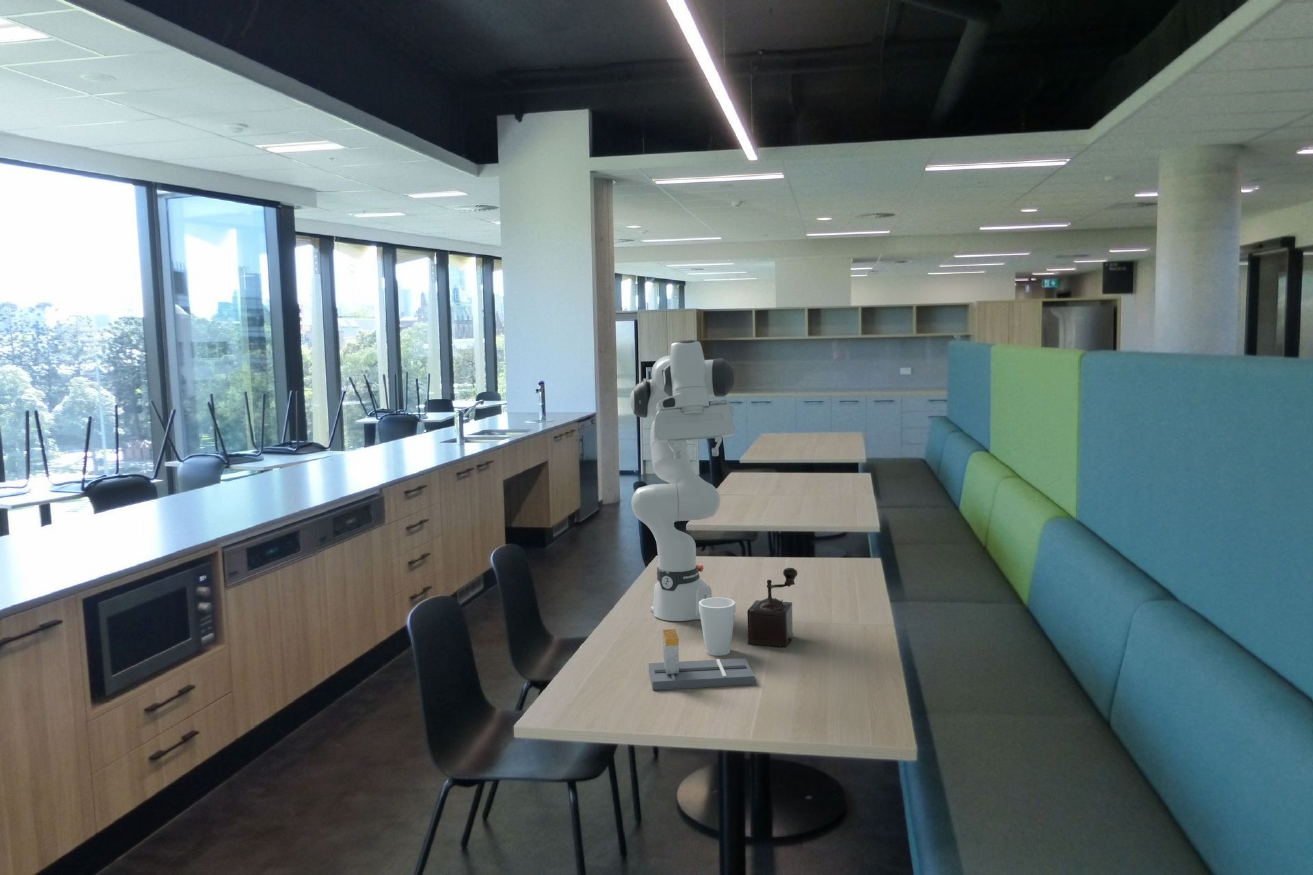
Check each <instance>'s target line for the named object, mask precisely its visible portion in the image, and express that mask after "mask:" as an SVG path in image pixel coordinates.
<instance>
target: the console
mask: <svg viewBox="0 0 1313 875" xmlns="http://www.w3.org/2000/svg"><path fill="white" fill-rule="evenodd" d="M648 674H649V677H650V684H651V688H652V691H662V690H675V689H676V690H679V689H694V688H695V689H696V688H699V689H700V688H714V687H715V688H716V687H733V686H747V685H748V686H749V685H756V676H755V674H754V672H753V670H752V668H751V666H750V664H749V663H748V660H747V659H746V657H744V658H743V657H741V658H726V659H724V658H723V659H722V658H721V659H719V658H717V659H709V660H708V659H705V660H702V659H701V660H690V661H688V660H685V661H683V660H682V661H679V673H678V674H666V671H665V667H664V662H651V663H650V662H648Z"/></svg>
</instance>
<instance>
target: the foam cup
mask: <svg viewBox="0 0 1313 875" xmlns="http://www.w3.org/2000/svg"><path fill="white" fill-rule="evenodd" d="M736 610H737V607H736V601H735V600H734V599H731V598H727V597H718V596H717V597H716V596H715V597H712V598H706V599H702V600H701V601H699V613H700V617H701V619H700V623H701V628H702V635H703V642H704V643H703V644H704V649H705V653H706V655H707V654H708V655H710V656H717V657H718V656H719V657H720V656H725V655H728V654H730V652H731V646H732V641H733V640H732V638H733V630H734V622H735V614H736Z"/></svg>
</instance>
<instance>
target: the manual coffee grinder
mask: <svg viewBox="0 0 1313 875" xmlns="http://www.w3.org/2000/svg"><path fill="white" fill-rule="evenodd" d="M782 575H783V576H784V578H785V581H784V583H782V584H772V579H767V580H766V588H767V598H764V599H761V600H759V599H757V600H755V601H754V602H753V603H752V605H751V606H750V607H749V608H748V609H747V612H746V614H747V644H748V645H751V646H762V647H772V648H784V649H785V648H787V646H788V645H789V644H790V643H791V641H792V640H793V639H794V638H793V635H794V634H793V633H794V632H793V602H790V601H784V599H782V600H780V599H778V598H776V597H772V589H774V588H776V589H777V588H784V587H789V588H790V587H791V586H792V585H796V583H795V579H796V577H797V576H798V571H797V570H796V569H795V568H793V567H786V568H784V569H783V571H782Z"/></svg>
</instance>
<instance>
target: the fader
mask: <svg viewBox="0 0 1313 875" xmlns="http://www.w3.org/2000/svg"><path fill="white" fill-rule="evenodd" d="M662 637H663V638H662V639H663V640H662V642H663V643H662V644H663V647H662V648H663V663H664V667H665V671H666V674H678V673H679V662H680V661H679V660H680V659H679V658H680V656H679V653H680V652H679V642H680V641H679V636H678V634H677V631H676V628H672V629H662Z"/></svg>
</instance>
